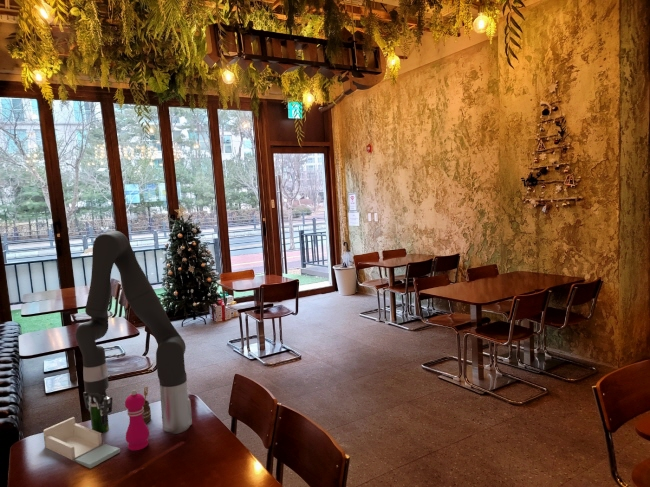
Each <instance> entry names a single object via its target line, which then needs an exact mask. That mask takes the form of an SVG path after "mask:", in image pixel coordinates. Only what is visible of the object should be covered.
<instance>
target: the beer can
mask: <svg viewBox="0 0 650 487" xmlns="http://www.w3.org/2000/svg"><path fill="white" fill-rule="evenodd" d="M103 405H104V403H103V404H101V405H100V406H103ZM102 410H103V408H102ZM89 414H90V415H89V416H90V421H91V422H90V423H91V424H90V425H91V426H90V427H91V429H92V430H94V431H97V432H99V433H101V435H102V434H104V433H107V432H108V431H109V430H110V427H109V423H108V424H106V425H104V426H103V425H101V416H100V411H99V410H98V409H97V405H96V403H95V402H93V401H92V403H91V402H90V411H89Z"/></svg>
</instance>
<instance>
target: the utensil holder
mask: <svg viewBox="0 0 650 487" xmlns="http://www.w3.org/2000/svg"><path fill="white" fill-rule="evenodd" d="M143 390H144V391H143V397H144V399H145V403H144V405H143V407H144V412H143V420H144V422H145V424H147V423H149V422H150V421H151V420H152V411H151V406H150V403H149V402H150V401H149V400H147V399H146V398H147V396H148V393H149V392H148V391H149V386H145V387H144V388H143Z"/></svg>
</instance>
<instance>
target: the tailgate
mask: <svg viewBox="0 0 650 487" xmlns="http://www.w3.org/2000/svg"><path fill="white" fill-rule="evenodd" d="M119 453H121V448H120V447H117V446H113V445H110V444H107V443H105V442H103V443H102V444H101V445H99V446H97V447H95V448H93V449H91V450H89V451H87V452H85V453H83V454H82V455H80V456H78V457H76V458H74V459H73V460H71V461H72V462H74V463H77V464H79V465H82V466H84V467H86V468H88V469H92V468H94V467H96V466H98V465H99V464H101V463H103V462H104V461H107V460H108V459H110V458H112V457H115V455H118V454H119Z"/></svg>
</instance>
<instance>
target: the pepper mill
mask: <svg viewBox="0 0 650 487" xmlns="http://www.w3.org/2000/svg"><path fill="white" fill-rule="evenodd" d="M144 403H145V396H144V394H141V393H138V391H137V390H136V389H132V390H131V392H130V394H129V396H127V397H126V399H125V401H124V406H125V408H126V409H127V410H126V412H127V416H128V418H129V423H128V427H127V430H126V433H125V441H126V442H127V443H128V445H127V448H128V450H129V451H139V450H142V449H145V448H146V447H147V446H148V445H149V440H148V438H149V436H150V430H149V428H148V426H147V423H145V422H144V420H143V412H144V407H143V405H144Z"/></svg>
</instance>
